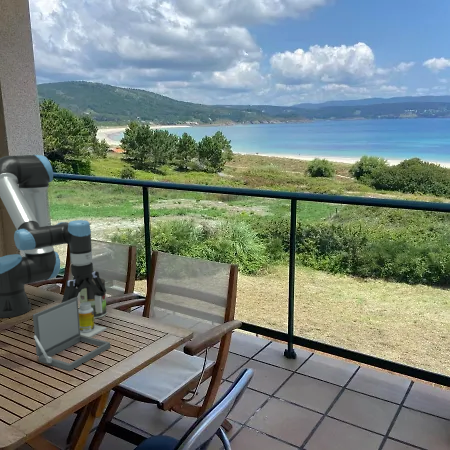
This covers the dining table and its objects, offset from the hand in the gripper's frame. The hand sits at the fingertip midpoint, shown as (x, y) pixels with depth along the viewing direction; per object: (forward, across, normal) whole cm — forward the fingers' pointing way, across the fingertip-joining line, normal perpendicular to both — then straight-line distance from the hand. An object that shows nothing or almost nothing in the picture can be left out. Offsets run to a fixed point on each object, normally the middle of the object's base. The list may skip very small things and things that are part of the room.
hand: (85, 318), depth 164 cm
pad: (+5, 0, 0) cm, 5 cm away
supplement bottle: (+5, 0, 0) cm, 5 cm away
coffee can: (+5, +14, +10) cm, 18 cm away
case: (+5, -15, -10) cm, 19 cm away
